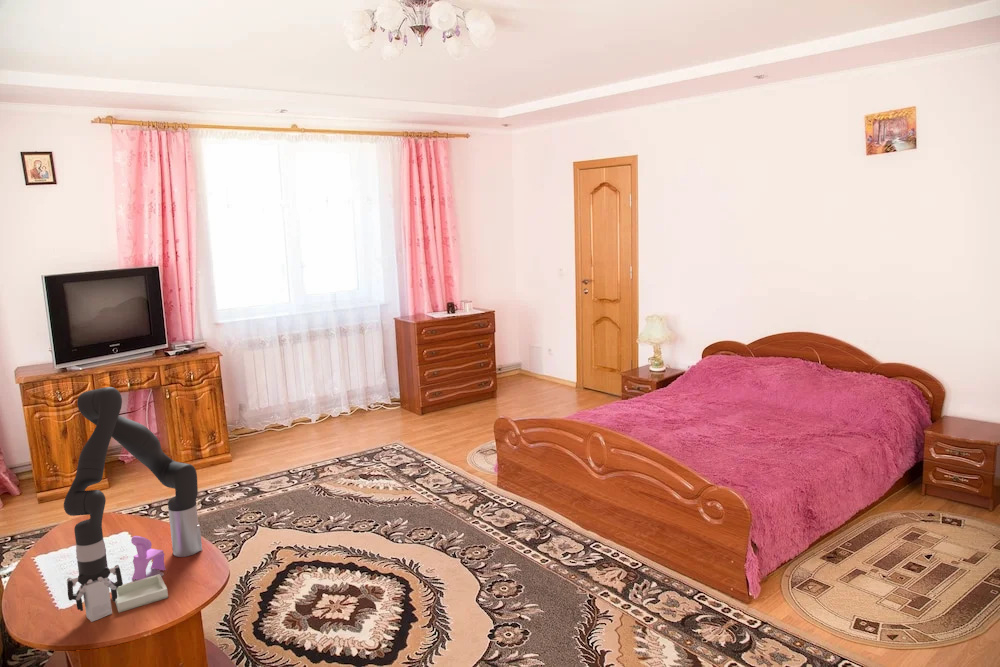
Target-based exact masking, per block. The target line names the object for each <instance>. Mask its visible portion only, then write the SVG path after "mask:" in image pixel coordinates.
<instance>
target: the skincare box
mask: <svg viewBox="0 0 1000 667" xmlns="http://www.w3.org/2000/svg"><path fill="white" fill-rule="evenodd" d="M104 579H106V580H107V581H108V579H107V578H104ZM104 582H105V581H104V580H103V581H101V582H100V581H98V580H96V581H92V583H90V584H86V585H85V584H84V585H85V589H86V592H85V593H84V594H83V596H82V597H83V602H84V608H85V609H84V610H85V615H86V616H85V617H86V618H87V619H88V620H89V621H90V622H91V623H93V622H96V621H97V620H101V619H102V618H103V619H104V618H105V617H106V616H110V615H112V614H113V610H112V599H111V595H110V594H111V592H110V588H109V587H107V586H106V585H104ZM106 584H107V583H106ZM83 587H84V586H83V585H82V588H83Z"/></svg>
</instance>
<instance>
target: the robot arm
mask: <svg viewBox="0 0 1000 667" xmlns="http://www.w3.org/2000/svg"><path fill="white" fill-rule="evenodd" d="M76 400H77V402H76V403H77V404H76V405H77V408H78V411H79V412H80V414H81V415H82V416H83V417H84V418H85V419H87V420H88V421H89V422H90V423H92V424H93V425H95V427H94V429H93V432H92V434H91V435H90V437H89V438H88V440H87V441H86V443H85V444H84V445H83V447H82V449H81V452H80V454H79V457H78V461H77V468H76V474H75V477H74V479H73V480H72V483H71V486H70V488H69V490H68V492H67V493H66V495H65V497H64V499H63V500H64V501H63V509H64V512H65V513H66V514H67V515H68V516H71V517H72V516H73V517H75V516H88V515H89V518H88V519H84V520H82V521H78V522H77V523H76V525H75V526H74V529H73V530H74V538H75V555H76V561H77V569H78V570H77V571H78V575H77V577H75V578H74V577H73V578H71V577H68V578H67V579H66V584H67V597H68V601H73V600H75V602H76V603H75V604H76V609H77V610H78V611H80V612H84V606H83V599H82V597H84V596H83V594H84V593H85V592H86V589H85V585H86V584H90V583H92V581H96V580H98V581H100V582H101V581H103V580H104V581H105V582H104V585H106V586H107V587H109V589H110V594H111V595H110V596H111V602H115V599H117V588H118V587H119V586H122V585H123V584H124V583H123V578H122V572H121V568H120V566H119V564H117V565H114V567H112V568H109V567H108V559H107V548H106V543H105V541H104V540H105V539H104V535H103V518H104V517H103V516H104V512H105V511H104V510H105V506H106V500H107V499H106V496H105V494H104V493H103V491H101V490H98V489H94V490H93V489H92V490H91V489H90V490H89V489H88V490H86V489H87V488H88V487H90V486H92V485H95V484H99V483H101V482H102V480H103V477H104V472H105V470H104V469H105V465H106V464H105V463H106V457H107V454H108V453H107V452H108V448H109V445H110V443H111V439H114V440H115V441H116V442H117V443H118V444H120V446H122V447H123V448H124V449H125V450H126V451H127V452H128V453H129V454H130V455H132V456H133V457H134V458H136V459H137V461H138V462H140V463H141V464H142V465H143V466H145V467H146V468H147V469H148V470H149V471H150V472H151V473H152V474H153V475H154V476H155V478H156V479H157V480H158V481H159V482H160V483H161V484H162V485H163V486H165V487H166V488H168V489H175V490H174V491H175V496H173V497H171V498H170V499H168V500H167V509H168V519H169V526H170V536H171V549H172V554H173V556H174V557H177V558H178V557H179V558H184V557H189V556H193V555H195V554H197V553H199V552H200V551H203V544H202V543H203V542H202V533H201V525H200V524H199V517H198V507H197V498H198V496H199V495H198V493H199V492H198V490H199V489H198V488H199V487H198V474H197V469H196V468H195V466H194V465H193V464H191V463H185V462H181V461H175V460H173V459H172V458H171V457H169V456H168V455H167V454H165V452H164V451H163V450H162V444H161V442H160V440H159V438H158V437H157V436H156V435H155V434H154V432H152V431H151V429H149V427H147V426H146V425H143V424H141V423H140V422H137V421H135V420H132V419H131V418H130V419H129V418H126V417H124V416H123V415H122V416H121V415H120V413H121V409H122V405H123V397H122V394H121V392H120V391H119V390H118V389H117V388H115V387H112V386H106V387H100V388H95V389H92V390H87V391H84V392H82V393H81V394H80V395H79V396H78V397H77V399H76ZM111 574H112V575H113V576H116V581H115V582H114V581H112V580H111V579H110V578H109V576H110V575H111ZM104 578H107V579H108V581H107V580H106V579H104ZM77 583H79V584H80V585H79V588H78V590H77V591H76V593H74V587H75V586H76V584H77ZM106 583H107V584H106ZM84 584H85V585H84ZM82 585H83V586H84V587H83V588H82Z"/></svg>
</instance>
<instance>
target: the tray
mask: <svg viewBox="0 0 1000 667" xmlns="http://www.w3.org/2000/svg"><path fill="white" fill-rule="evenodd" d="M168 598H169V592H168V587H167V585H166V584H165V581H164V579H163V577H162V576H161V573H159V574H155V575H151V576H148V577H147V576H146V578H144V579H140V580H134V581H131V582H127V583H123V585H122V586H119V587H118V588H117V599H115V601H114V603H115V605H116V609H117V612H118V613H122V612H125V611H129V610H132V609H136V608H139V607H141V606H142V607H143V606H146V605H148V604H152V603H155V602H158V601H162V600H165V599H168Z"/></svg>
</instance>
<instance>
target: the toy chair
mask: <svg viewBox="0 0 1000 667" xmlns="http://www.w3.org/2000/svg"><path fill="white" fill-rule="evenodd" d="M130 541H131V544H132V545H133V546H135V548H136V551H137V552H136V553H137V554H135V555H133V560H132V563H133V568H134V572H133V575H132V578H131V579H132V580H133V579H134V581H137V580H140V579H144V578H147V568H148V565H149V563H150V562H151V561H152V563H151V566H150V569H153V568H154V569H153V570H158V569H159V570H160V571H164V570H165V571H166V570H167V569H166V566H165V553H164V550H163V549H156V548H152V541H151V539H148V538H147V537H143V536H139V535H134V536H132V537H131V540H130ZM135 579H136V580H135Z"/></svg>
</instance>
